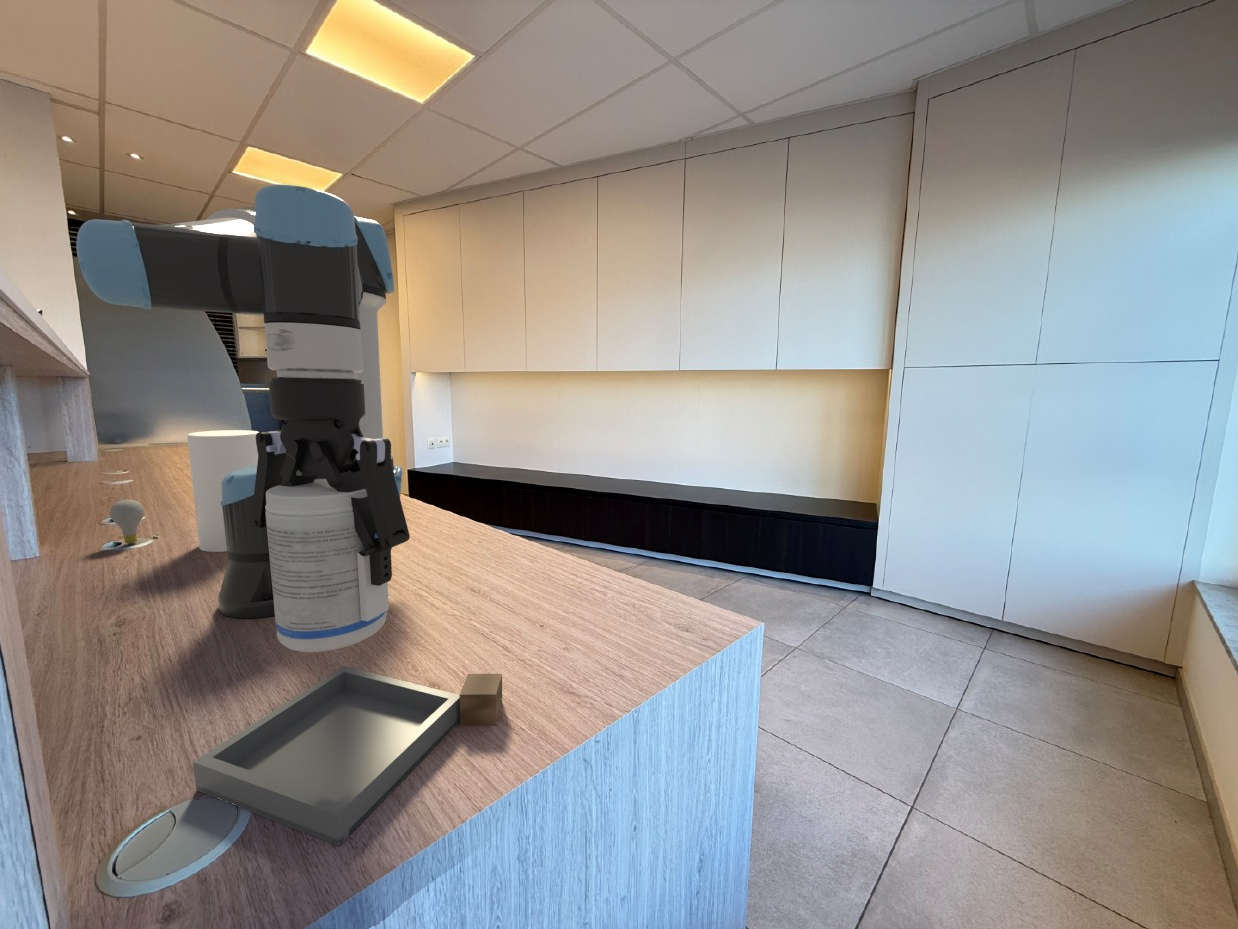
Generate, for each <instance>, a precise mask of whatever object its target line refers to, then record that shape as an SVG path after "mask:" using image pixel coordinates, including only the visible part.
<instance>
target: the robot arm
mask: <svg viewBox="0 0 1238 929" xmlns="http://www.w3.org/2000/svg"><path fill="white" fill-rule="evenodd" d="M354 214H355V213H354V212H353V209H352V207H351V205H349V204H348V203H347V202H346V201H345V200H343V199H341V198H340V197H338V196H336V195H334V194H332V193H329V192H326V191H322V190H319V189H316V188H311V187H306V186H299V185H292V184H272V185H271V184H270V185H267V186H264V187H261V188H260V189H259V190H257V192H256V194H255V196H254V206H243V207H242V206H241V207H235V208H225V209H220V210H217V211H216V212H213V213H212V214H211V215H209V216H208V217H207V218H206V219H203V220H193V221H186V222H178V223H166V224H165V223H163V224H147V223H139V222H131V221H130V220H127V219H122V220H111V219H101V218H100V219H98V218H97V219H96V218H94V219H89V220H87V221H85V222H84V223H83V224H81V226H80V227H79V230H78V232H77V235H76V244H75V245H76V247H75V248H76V254H77V261H78V264H79V268H80V272H81V274H82V276H83V279H84V280H85V282H86V285H87V286H88V287H89V289H90V290H91V292H92V293H93V294H94V295H95V296H96V297H97V298H98V299H100V300H102V301H104V302H105V303H108V304H110V305H117V306H123V307H124V306H126V307H136V308H142V309H144V310H152V309H158V310H159V309H160V310H161V309H162V310H175V311H176V310H177V311H179V310H180V311H181V310H182V311H196V312H209V313H211V312H214V313H231V314H237V315H238V314H239V315H240V314H242V315H251V316H252V315H253V316H263V323H264V330H265V331H264V334H265V344H266V356H267V357H266V358H267V360H266V362H267V368H268V369H269V370H271V371H276V376H277V377H270V381H268V390H269V404H270V413H271V416H272V417H273V418H275V419H277V420H278V421H279V420H280V421H282V427H281V430H271V431H258V432H259V433H257V434H256V445H257V451H258V463H257V466H252V467H248V468H244V469H240V470H237V471H234V472H232V473H230V474H228V475H227V476H225V477H224V479H223V480H222V484H221V489H222V501H221V505H222V509H223V518H224V527H225V536H226V545H227V552H226V553H227V554H226V555H227V565H226V568H225V572H224V575H223V579H222V583H221V586H220V591H219V593H218V595H217V596H218V597H217V599H218V609H219V612H220V613H221V614H222V615H224V616H227V617H231V618H236V619H237V618H239V619H240V618H241V619H253V618H256V619H257V618H263V617H265V618H266V617H272V616H275V610H274V598H273V588H272V578H271V567H270V556H269V545H268V534H267V524H266V509H265V506H266V492H267V490H269V489H270V488H273V487H275V486H279V485H281V486H289V487H292V486H297V485H302V484H308V483H313V482H314V480H317V479H326V480H327V482H328V484H329V486H331V487H332V488H335V489H336V490H337V492H347V493H350V492H354V491H358V490H362V489H366V493H367V497H364V498H354V497H351V505H352V508H353V514H354V525H355V530H356V532H357V534H358V536H359V538H360V540H361V543H362V545H363V547H364V550H362V551H360V552H359V553H357V560H358V577H359V594H360V611H361V620H363V621H369V620H371V619H373V618H375V617H376V616H378V615H380V614H382V613H384V612H385V611H387V612H388V611H389V610H390V603H389V602H390V601H389V584H388V582H390V581H391V579H392V577H393V570H392V569H393V568H392V549H393V548H394V547H396V546H399V545H401V544H404V543H406V542H409V540H410V537H411V536H410V531H409V529H408V525H407V520H406V516H405V512H404V509H403V508H404V507H403V506H402V500H401V494H402V482H403V481H402V478H403V468H402V466H399V465H396V464H394V455H392V443H391V441H390V439H389V438H388V437H384V430H383V429H384V428H383V411H382V410H383V409H382V406H383V405H382V388H381V385H382V384H381V370H380V368H381V366H380V348H379V347H380V346H379V345H380V344H379V343H380V342H379V326H378V325H379V324H378V323H379V322H378V312H379V310H380V309H381V308H382V307H384V306H385V305H386V304H387V294H390V295H391V293H394V292H395V283H394V275H393V268H392V261H391V254H390V251H389V250H390V249H389V245H388V240H387V236H386V232H385V230H384V227H383V226H382V225H381V224H380V223H379V222H378V221H376V220H373V219H369V218H368V219H367V218H363V217H358V216H355V215H354ZM375 534H377V536H378V537H377V538H375V536H374V535H375Z"/></svg>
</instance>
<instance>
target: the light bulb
mask: <svg viewBox="0 0 1238 929" xmlns="http://www.w3.org/2000/svg"><path fill="white" fill-rule="evenodd" d="M144 516H145V508H144V506H143V504H141V502H139V501H137V500H135V499H121V500H119V501H117V502H115V503H114V504H113V505H112V506H111V507H110V510H109V517H110V518H111V520H112V521H113V522H114V523H115V524H116V525H117V526H118V527H119V528H120V529H121V531H122V535H123V539H124V543H125V544H128V545H134V544H135V543H136V542H138V536H137V534H138V526H139V525H140V523H141V521H142V519H143V518H144Z"/></svg>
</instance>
